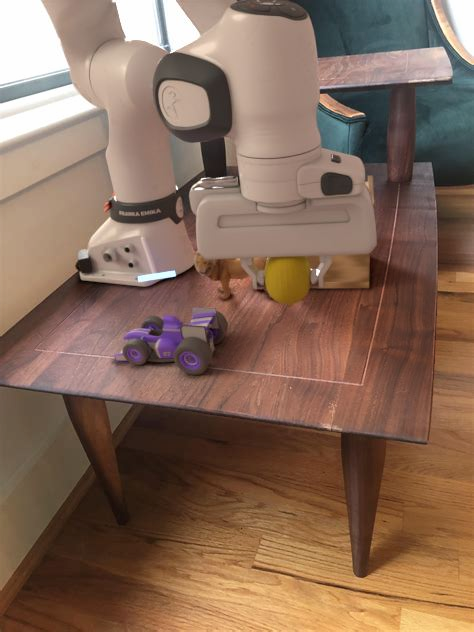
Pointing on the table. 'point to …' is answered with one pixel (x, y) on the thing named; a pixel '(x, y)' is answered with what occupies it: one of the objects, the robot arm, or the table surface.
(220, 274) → the lion figurine
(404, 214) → the table surface
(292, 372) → the table surface
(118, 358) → the toy race car
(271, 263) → the lemon
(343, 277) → the wooden crate box
